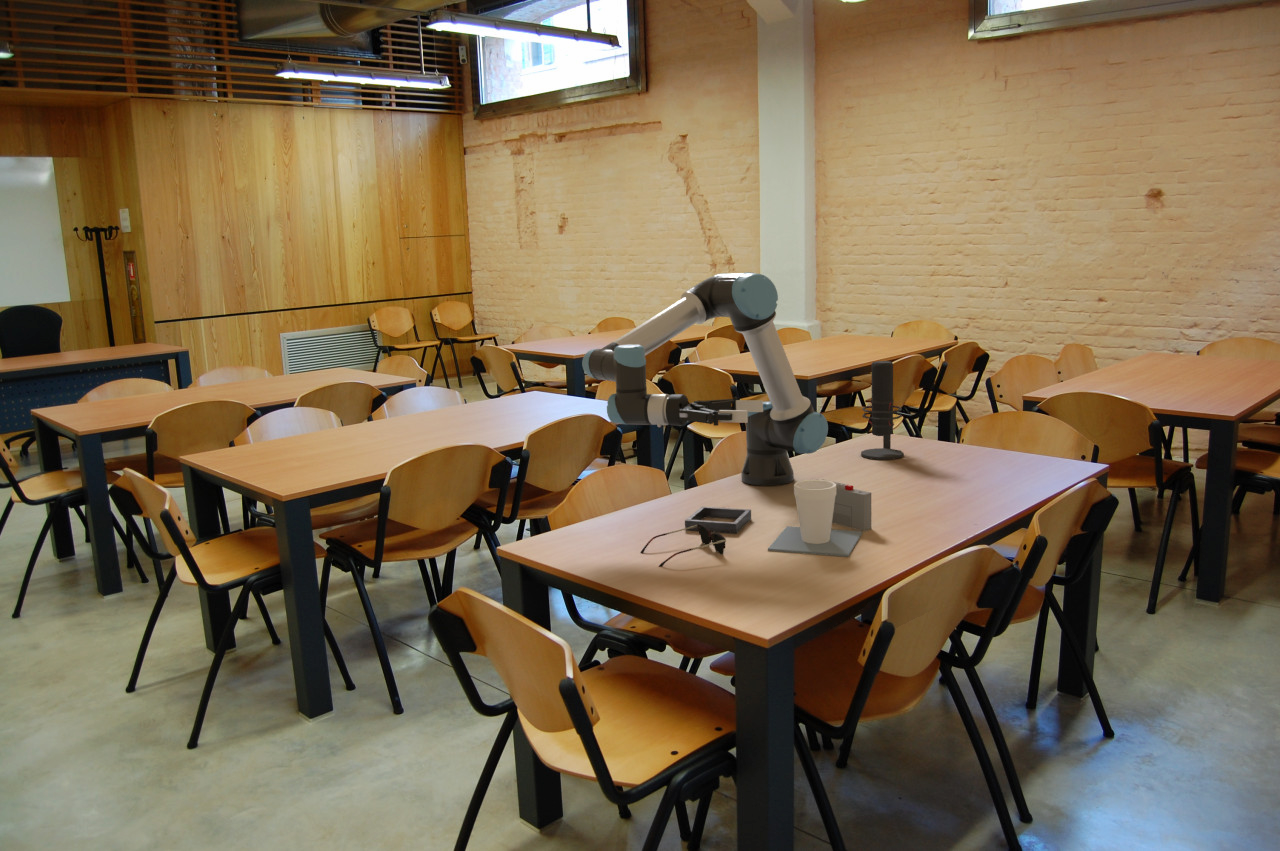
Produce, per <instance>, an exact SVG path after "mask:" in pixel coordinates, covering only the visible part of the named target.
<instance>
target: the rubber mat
mask: <svg viewBox="0 0 1280 851" xmlns="http://www.w3.org/2000/svg"><path fill="white" fill-rule="evenodd" d="M862 535H863V531H861V530H849V529H833V528H831V535H830V540H829V541H828V542H826V543H821V544H812V543H806V542H804V541H803V540H802V537H801V531H800V526H789V525H788V526H786V527H785V528H784V529H783V531H781V532H780V533H779V535H778V536H777V537H776V539H775V540H774V541H773V542H772V543H771V544H770V545H769V547H768V548H767V551H768V552H778V553H779V552H780V553H781V552H783V553H791V554H792V553H793V554H794V553H795V554H805V555H819V556H831V557H832V556H833V557H843V558H844V557H846V558H849V557H850V555H851V553H852V552H853V550H854V548H855V546H856V545H857V543H858V541H859V540H860V538H861V537H862Z"/></svg>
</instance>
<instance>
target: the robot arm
mask: <svg viewBox="0 0 1280 851" xmlns="http://www.w3.org/2000/svg"><path fill="white" fill-rule="evenodd" d="M778 301H779V294H778V290H777V288H776V286H775V284H774V282H773V281H772V280H771V279H770V278H769V277H767V276H766V275H764V274H761V273H755V272H752V271H751V272H749V271H748V272H722V273H717V274H714V275H712V276H710V277H708V278H706V279H705V280H703V281H701V282H698V284H696V285H694V286H692V287H691V288H689V289H687V290H685V291H684V292H683V293H682V294H681V295H680V299H679V300H677V301H676V302H674V303H672V304H670V305H668V306H667V307H666V308H664V309H663V310H661V311H660V312H658V313H657V314H655V315H653V316H652V317H650V318H649V319H647V320H645V321H644V322H642V323H641V324H639V325H637V326H636V327H635V328H633V329H631V330H630V331H628V332H626V333H625V334H623V335H622V336H620V337H618V338H617V339H615V340H614V341H612V342H610V343H609V344H607V345H606V346H605V345H604V347H601V348H594V349H590V350H588V351H587V352H586V353H585V354H584V356H583V357H582V361H581V364H582V365H581V366H582V369H583V371H584V374H586V376H588V377H589V378H592V379H594V380H598V381H601V380H602V381H609V382H614V383H615V389H616V390H615V393H612V394H611V395H609V397H608V399H607V402H606V403H607V405H606V413H607V417H608V419H609V421H610V422H611V423H613V424H620V425H626V426H630V425H631V426H632V425H636V426H637V425H640V426H641V425H643V426H644V425H645V426H646V425H647V426H649V425H650V426H653V425H654V426H655V425H657V427H658V428H661V427H662V426H668V425H670V426H677V427H678V426H679V427H681V426H682V427H684V426H686V424H687V423H688V422H695V423H701V424H709V425H712V424H713V426H714V427H715V426H717V427H718V426H719V423H741V424H742V423H744V424H745V434H746V435H745V436H746V437H745V438H746V456H745V460H744V463H743V466H742V470H741V475H740V476H741V477H740V478H741V481H742V483H744V484H747V485H753V486H765V487H766V486H767V487H768V486H770V487H771V486H779V485H786V484H790V483H791V482H793V481H794V478H795V477H794V476H795V473H794V470H793V467H792V463H791V462H790V458H789V454H788V452H789V451H790V452H794V453H798V454H807V455H808V454H809V455H810V454H813V453H817V452H818V450H820V449H821V448H822V446H823V445H824V444H825V442H826V439H827V435H828V434H829V432H828V431H829V425H828V421H827V418H826V416H824V414H822V413H820V412H818V411H815V410H814V407H813V404H812V402H811V400H810V399H809V398H808V397H806V396H804V395H803V394H802V393H801V392H802V391H801V390H800V387H799V384H798V382H797V379H796V377H795V375H794V372H793V369H792V367H791V364H790V361H789V359H788V356H787V353H786V351H785V349H784V346H783V343H782V341H781V339H780V336H779V333H778V330H777V329H776V326H775V323H774V321H775V318H776V316H777V313H776V309H777V306H778V303H777V302H778ZM714 318H715V319H716V318H730V321H731V324H732V326H733V329H734V331H735V332H737V333H739V334H741V335H742V336H743V337H744V340H745V343H746V345H747V347H748V349H749V353H750V355H751V358H752V360H753V363H754V365H755V367H756V370H757V373H758V374H759V377H760V381H761V382H762V384H763V388H764V389H765V392H766V395H767V398H768V399H769V400H768V401H764V400H763V399H761V400H759V399H757V400H756V399H751V400H749V399H747V400H745V399H738V397H737V396H734V397H733V398H724V399H711V400H699V399H698V400H693V402H689V399H688V396H687V395H685V394H682V393H681V394H679V393H677V394H673V393H672V394H668V393H648V389H647V359H646V355H647V356H648V354H650V353H651V352H653V351H654V350H656V349H658V348H659V347H661V346H662V345H664V344H665V343H667V342H668V341H670V340H672V339H673V338H675V337H677V336H678V335H679V334H681V333H682V332H684V331H686V330H687V329H688V328H689V329H690V327H692V326H694V325H695V324H697V325H702V324H704V323H705V322H707V321H709V320H712V319H714Z"/></svg>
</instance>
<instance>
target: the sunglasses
mask: <svg viewBox="0 0 1280 851" xmlns="http://www.w3.org/2000/svg"><path fill="white" fill-rule="evenodd" d="M695 527H698V531H697V532H698V535H699V536H700V540H701V543H702V544H704V545H700V546H696V547H693V548H689V549H684V550H681V551H677V552H675V553H673V554H672V555H670V556H669V557H668V558H666V559H665V560H664V561H662V562H661V563H660V564H659V565H658V568H659V567H661V568H662V567H663V566H664V565H665V564H666V563H667V562H668V561H670V560H671V559H673V558H674V557H675V556H677V555H680V554H683V553H686V552H687V553H688V552H690V551H694V550H698V549H702V548H705V547H710V546H714V549H715V551H716V552H717V553H719V554H720V555H722V556H724V553H725V549H726V542H727V539H726V538H725V537H724V536H723V535H722V533H716V532H710V530H709V529H708V528H707V527H706V526H705V525H703V524H697V525H694V526H691V527H688V528H685V527H684V528H681V529H678V530H674V531H668V532H665V533H661V534H658V535H656V536H653V537H652V538H651V539H649V541H647V543H646V544H645V545H644V547H643V548H642V550H640V553H642V554H644V553H645V550H646V549H647V547H648V546H649V544H650V543H652V541H653V540H655V539H657V538H659V537H663V536H667V535H670V534H674V533H678V532H681V531H687V530H686V529H690V528H695ZM640 553H639V554H640Z"/></svg>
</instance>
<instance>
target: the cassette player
mask: <svg viewBox="0 0 1280 851" xmlns="http://www.w3.org/2000/svg"><path fill="white" fill-rule="evenodd" d="M821 480H824V479H821ZM825 480H826V481H829V480H827V479H825ZM830 481H831V482H834V483H835V484H836V496H835V503H834V511H833V519H832V524H835V525H838V526H842V527H846V528H848V529H849V528H851V529H854V530H856V531H862V532H866V531H869V530H872V492H869V491H867V490H860V489H858V488H857V489H856V488H854V485H851V484H848V483H847V484H845V483H843V482H836V481H832V480H830Z"/></svg>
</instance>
